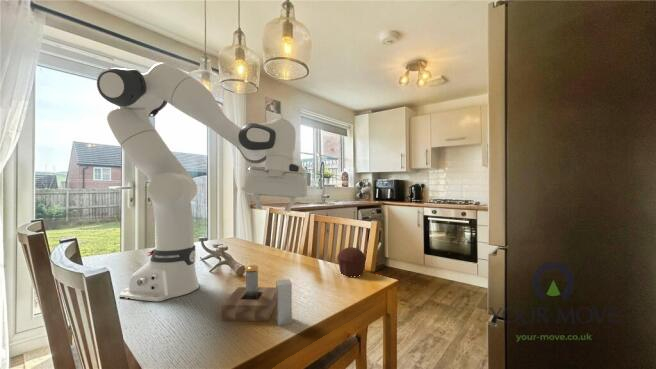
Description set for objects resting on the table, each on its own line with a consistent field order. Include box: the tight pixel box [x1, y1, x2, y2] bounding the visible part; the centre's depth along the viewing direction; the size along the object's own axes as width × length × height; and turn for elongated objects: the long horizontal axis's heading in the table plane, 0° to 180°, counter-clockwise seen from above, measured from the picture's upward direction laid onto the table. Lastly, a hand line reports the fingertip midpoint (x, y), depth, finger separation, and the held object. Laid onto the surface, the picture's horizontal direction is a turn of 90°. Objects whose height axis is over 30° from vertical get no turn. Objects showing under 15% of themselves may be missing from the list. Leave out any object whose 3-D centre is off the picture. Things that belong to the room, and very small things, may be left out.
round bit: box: [245, 264, 259, 299], centre depth 74 cm, size 3×3×12 cm
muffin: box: [336, 246, 367, 278], centre depth 104 cm, size 12×11×10 cm
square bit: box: [275, 278, 293, 327], centre depth 68 cm, size 3×3×10 cm
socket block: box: [221, 286, 276, 322], centre depth 74 cm, size 12×12×4 cm
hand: (273, 210), depth 84 cm, fingers open, 8 cm apart
